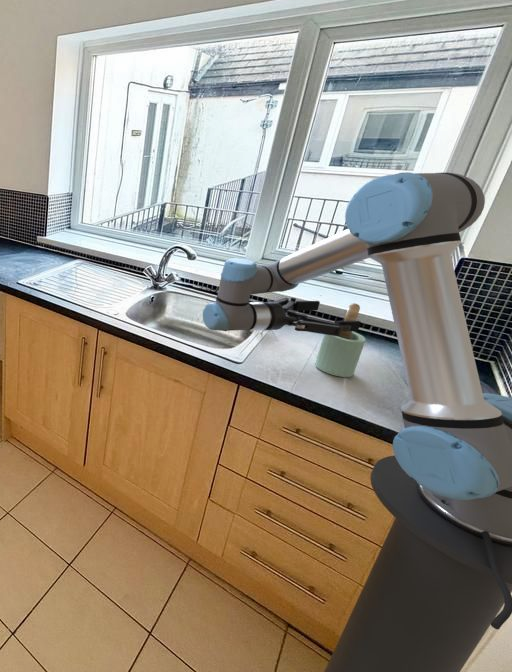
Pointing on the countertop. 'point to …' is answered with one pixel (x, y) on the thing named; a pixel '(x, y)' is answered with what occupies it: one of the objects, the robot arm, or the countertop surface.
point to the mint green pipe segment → (340, 354)
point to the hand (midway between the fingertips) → (337, 315)
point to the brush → (350, 318)
